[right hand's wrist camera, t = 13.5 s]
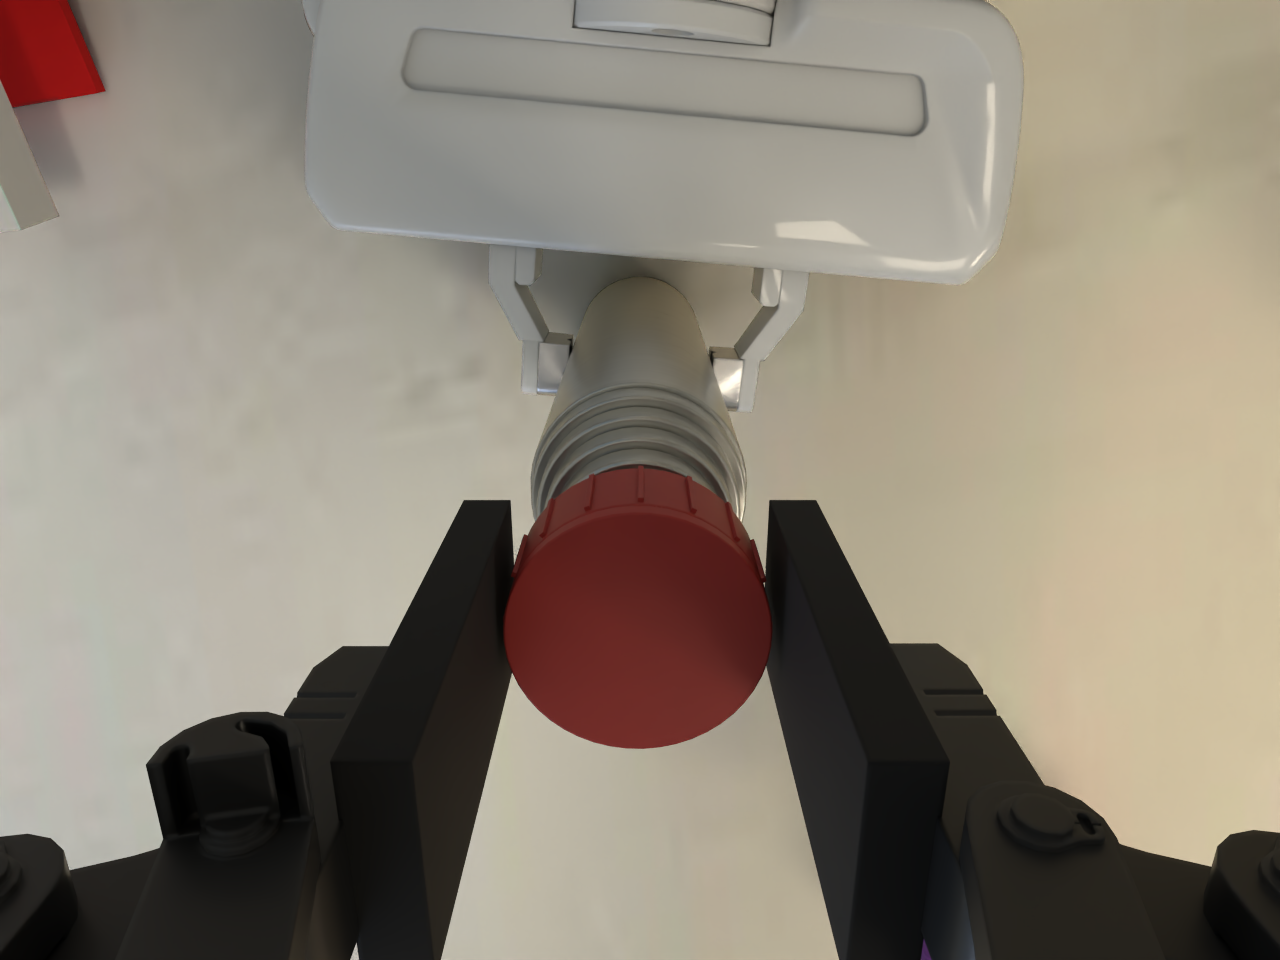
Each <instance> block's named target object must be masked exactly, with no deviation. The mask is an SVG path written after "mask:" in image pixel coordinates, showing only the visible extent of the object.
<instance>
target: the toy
mask: <svg viewBox="0 0 1280 960" xmlns="http://www.w3.org/2000/svg"><path fill="white" fill-rule="evenodd" d="M104 91H105V89H104V86H103V84H102V81H101V79H100V77H99V74H98V72H97V70H96V67H95V65H94V63H93V60H92V58H91V55H90V53H89V51H88V48H87V46H86V44H85V41H84V39H83V36H82V34H81V32H80V29H79V27H78V25H77V22H76V20H75V18H74V15H73V13H72V10H71V8H70V6H69V3H68V1H67V0H0V233H3V232H10V231H17V230H23V229H25V228H28V227H31V226H33V225H36V224H39V223H42V222H44V221H47V220H50V219H53V218H55V217H58V216H59V214H58V212H57V209H56V207H55V205H54V202H53V200H52V198H51V196H50V193H49V191H48V189H47V186H46V184H45V182H44V179H43V177H42V175H41V173H40V170H39V168H38V166H37V163H36V161H35V159H34V156H33V154H32V152H31V150H30V147H29V145H28V143H27V140H26V138H25V136H24V133H23V131H22V129H21V126H20V124H19V122H18V120H17V117H16V115H15V113H14V110H13V107H19V106H24V105H30V104H36V103H42V102H48V101H54V100H60V99H65V98H71V97H77V96H83V95H89V94H95V93H100V92H104Z"/></svg>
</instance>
